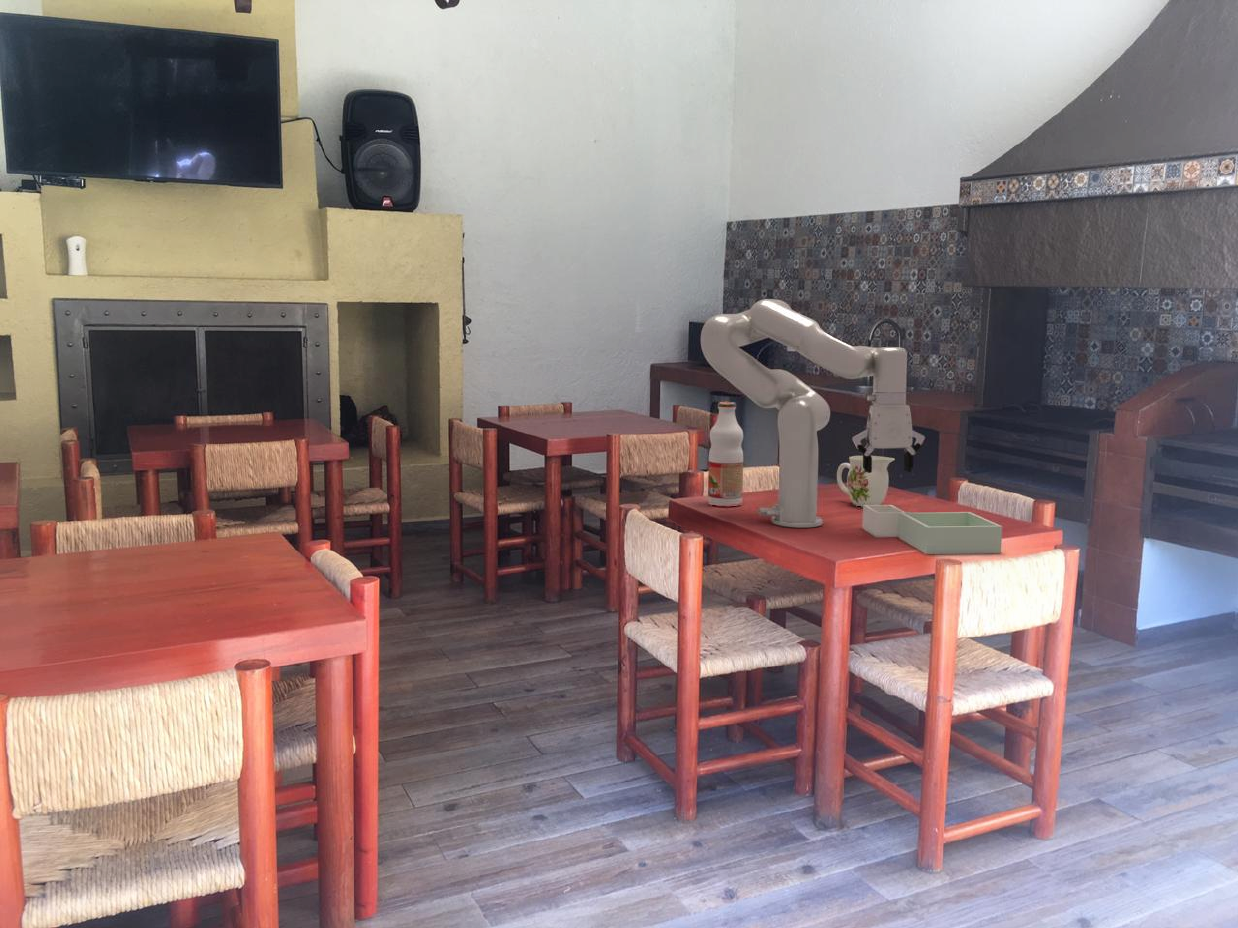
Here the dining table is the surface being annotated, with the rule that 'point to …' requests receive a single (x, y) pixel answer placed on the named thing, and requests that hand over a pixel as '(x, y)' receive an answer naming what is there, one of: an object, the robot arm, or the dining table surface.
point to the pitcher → (865, 480)
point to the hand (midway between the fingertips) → (887, 471)
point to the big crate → (950, 533)
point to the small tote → (881, 520)
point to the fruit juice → (725, 458)
